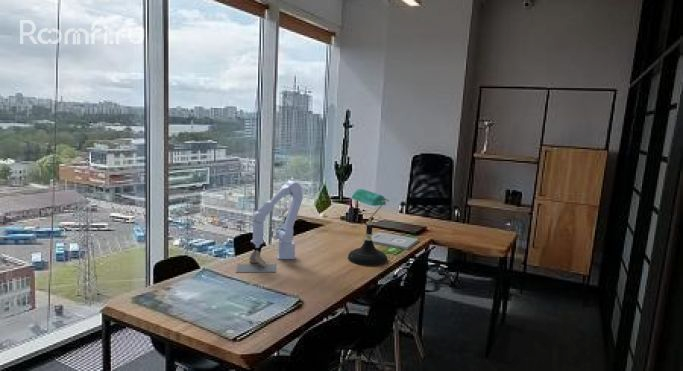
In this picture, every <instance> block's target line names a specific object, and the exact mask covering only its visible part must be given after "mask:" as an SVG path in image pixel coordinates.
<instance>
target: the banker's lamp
mask: <svg viewBox="0 0 683 371" xmlns="http://www.w3.org/2000/svg"><path fill="white" fill-rule="evenodd" d="M351 199H352V200H355V201H357V202H360V203H363V204H365V205H368V206H372V207H373V206H379V207H378V208H377V209H376V211H375V212H374V213H372V215H371V216H370V217H369V218H368V221H366V232H365V236H366V237H365V239H366V240H365V242H364V241H363V244H362V245H361V246H360V247H359V248H358V247H357V248H355V249H353V250H351V251H350V252H349V253H348V256H347V259H348V261H349V262H351V263H353V264H356V265H358V266H359V265H360V266H367V267H375V266H376V267H377V266H381V265H382V266H383V265H385V264H386V263H387V262H388V257H387V255H386V253H385V252H384V251H382V250H380V249H377V248H376V246H375V244H373V242H372V238H371V236H372V235H373V224H374V223H373V221H372V219H373V217H374V216H375V215H376V214H377V212H378V211H379V210H380V209H381V208H382V207H383V206H386V205H387V202H390V199H388V198H385V196H383V195H382V194H379V193H375V192H372V191H369V190H367V189H363V188H358V189H356V190H354V193H353V195H352V196H351Z"/></svg>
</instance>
